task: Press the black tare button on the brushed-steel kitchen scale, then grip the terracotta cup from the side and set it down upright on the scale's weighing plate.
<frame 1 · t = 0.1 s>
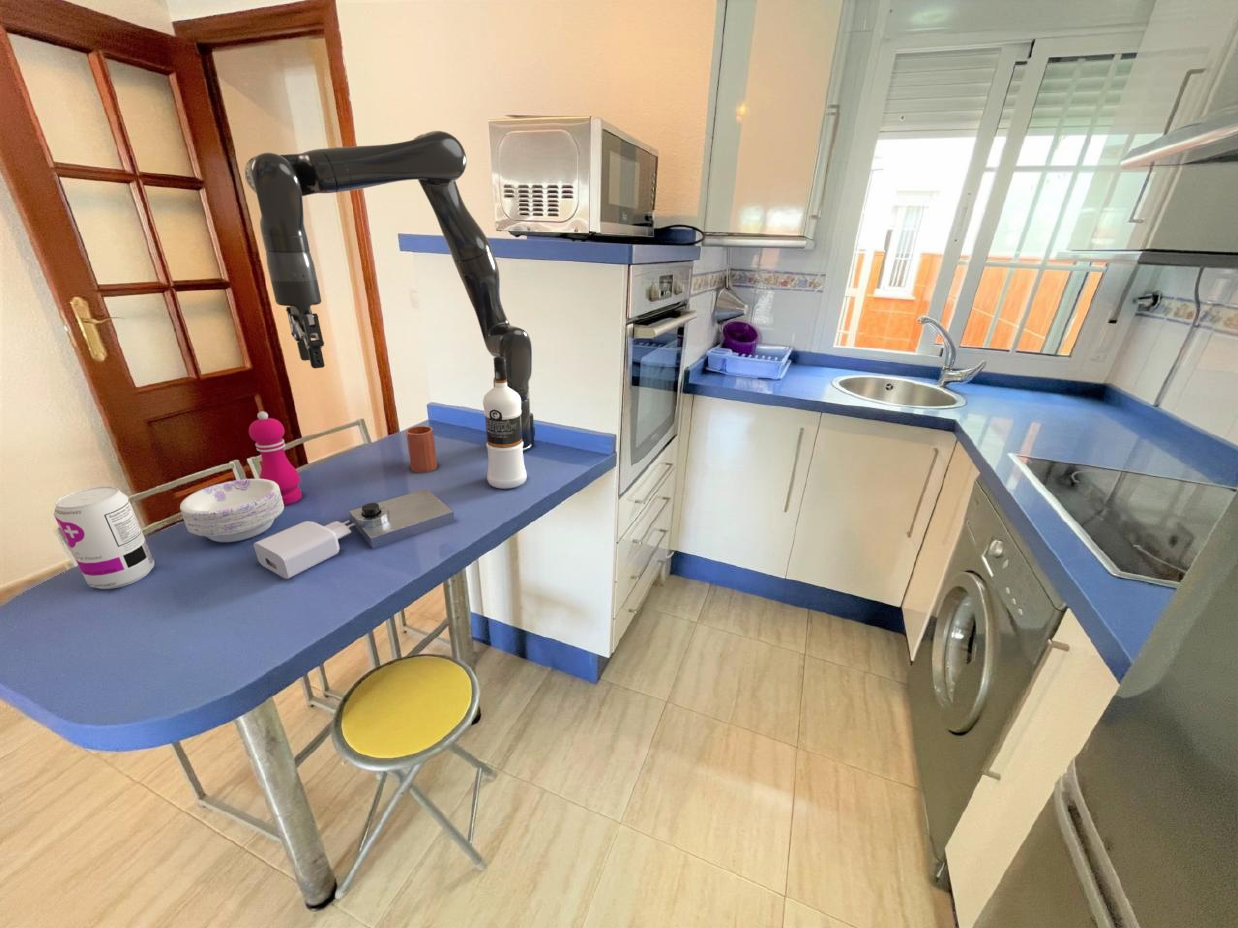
hand: (312, 363, 101), 29 cm above the table, tool pointing down, fingers open, 8 cm apart
paper bowls: (242, 530, 97), on the table
vodka: (507, 482, 120), on the table
pepper mill: (285, 500, 109), on the table
charger: (317, 552, 92), on the table
supplement can: (124, 576, 84), on the table
cup: (424, 467, 126), on the table
tare button: (371, 510, 97), point 5 cm above the table, slide at 0.1 cm
scale: (403, 521, 102), on the table
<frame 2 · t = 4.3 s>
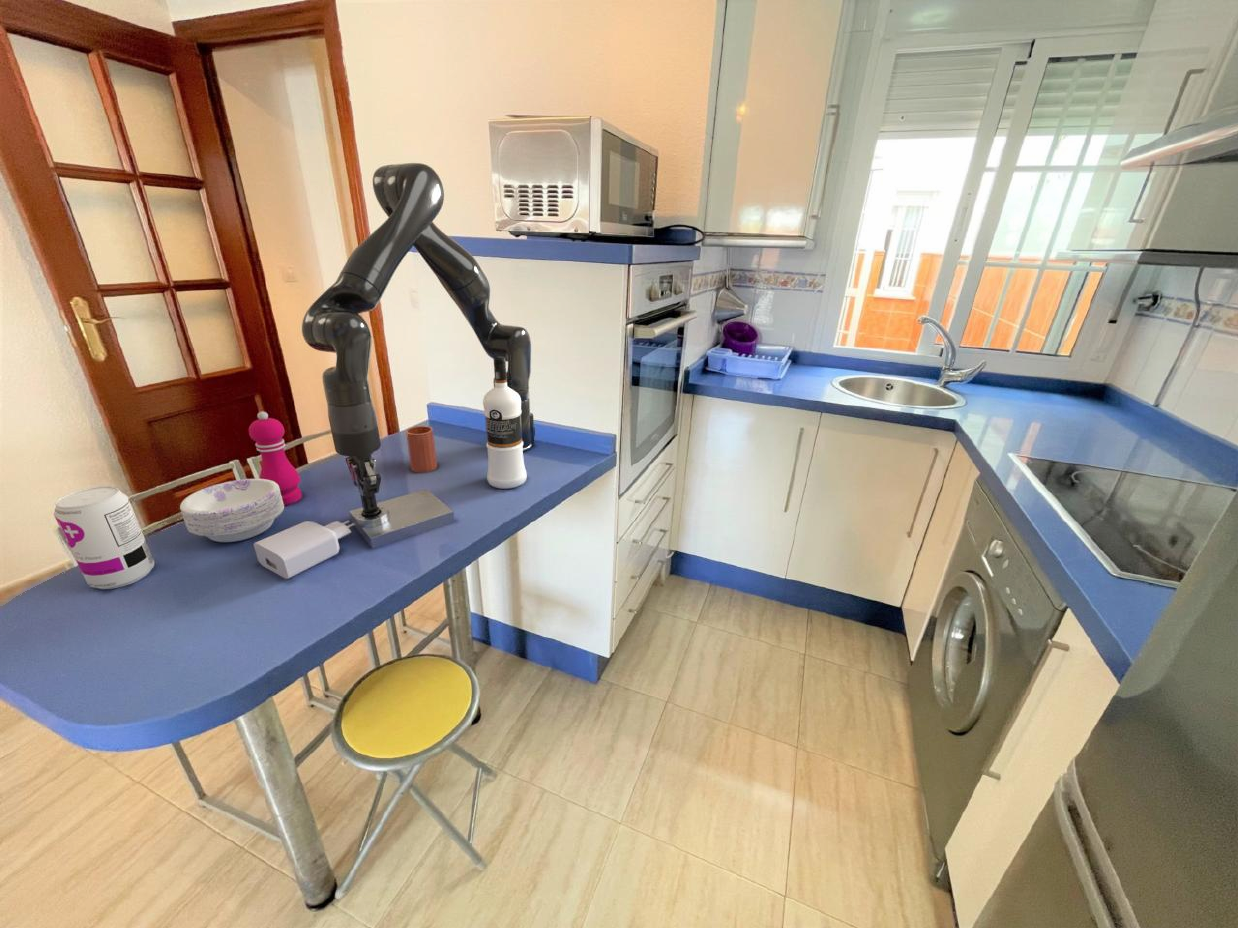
hand: (370, 509, 97), 5 cm above the table, tool pointing down, fingers closed
tare button: (371, 513, 97), point 4 cm above the table, slide at -0.6 cm, touching gripper
everything else where it was.
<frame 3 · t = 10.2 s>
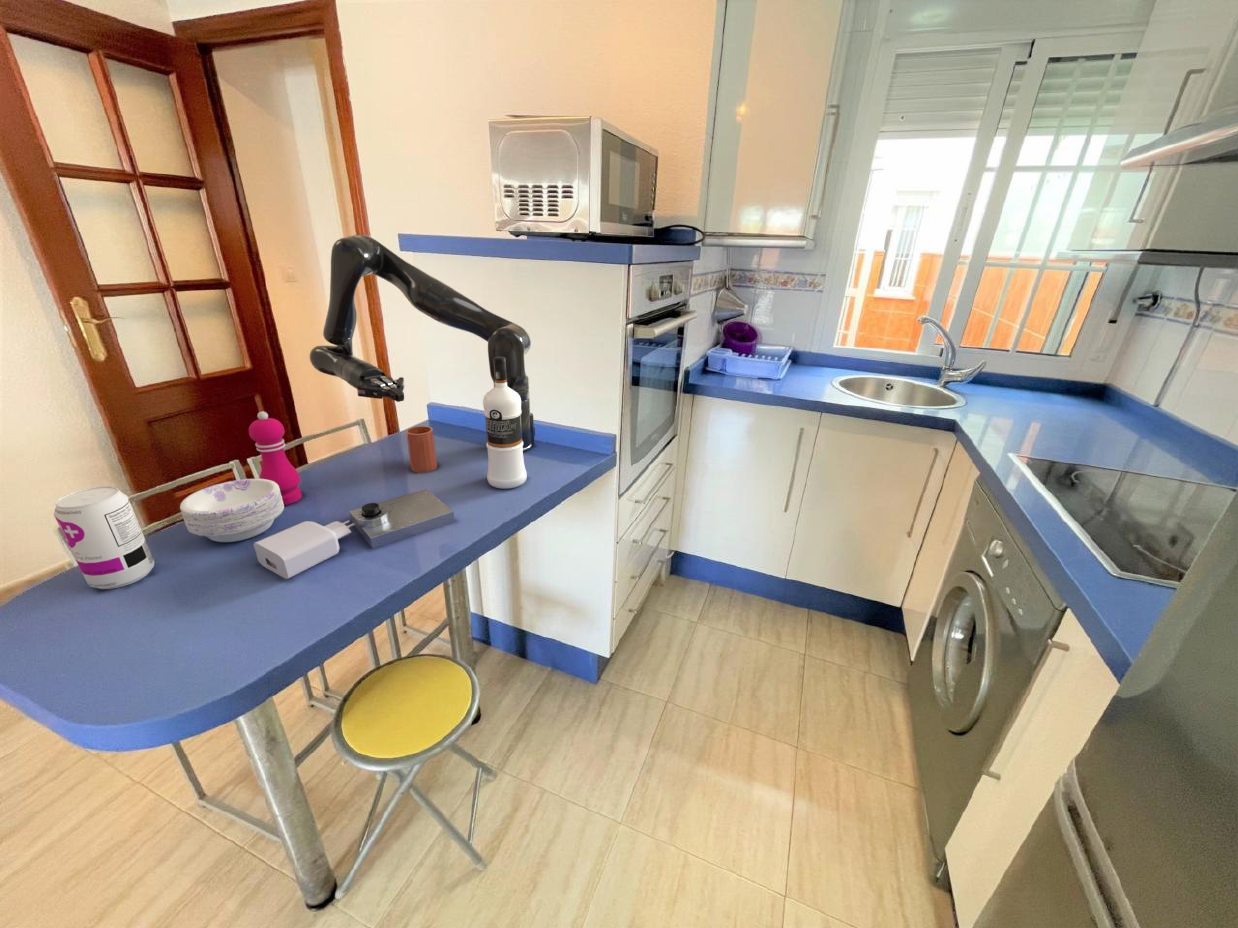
hand: (401, 397, 124), 17 cm above the table, tool horizontal, fingers closed
tare button: (371, 510, 97), point 5 cm above the table, slide at 0.1 cm
everything else where it was.
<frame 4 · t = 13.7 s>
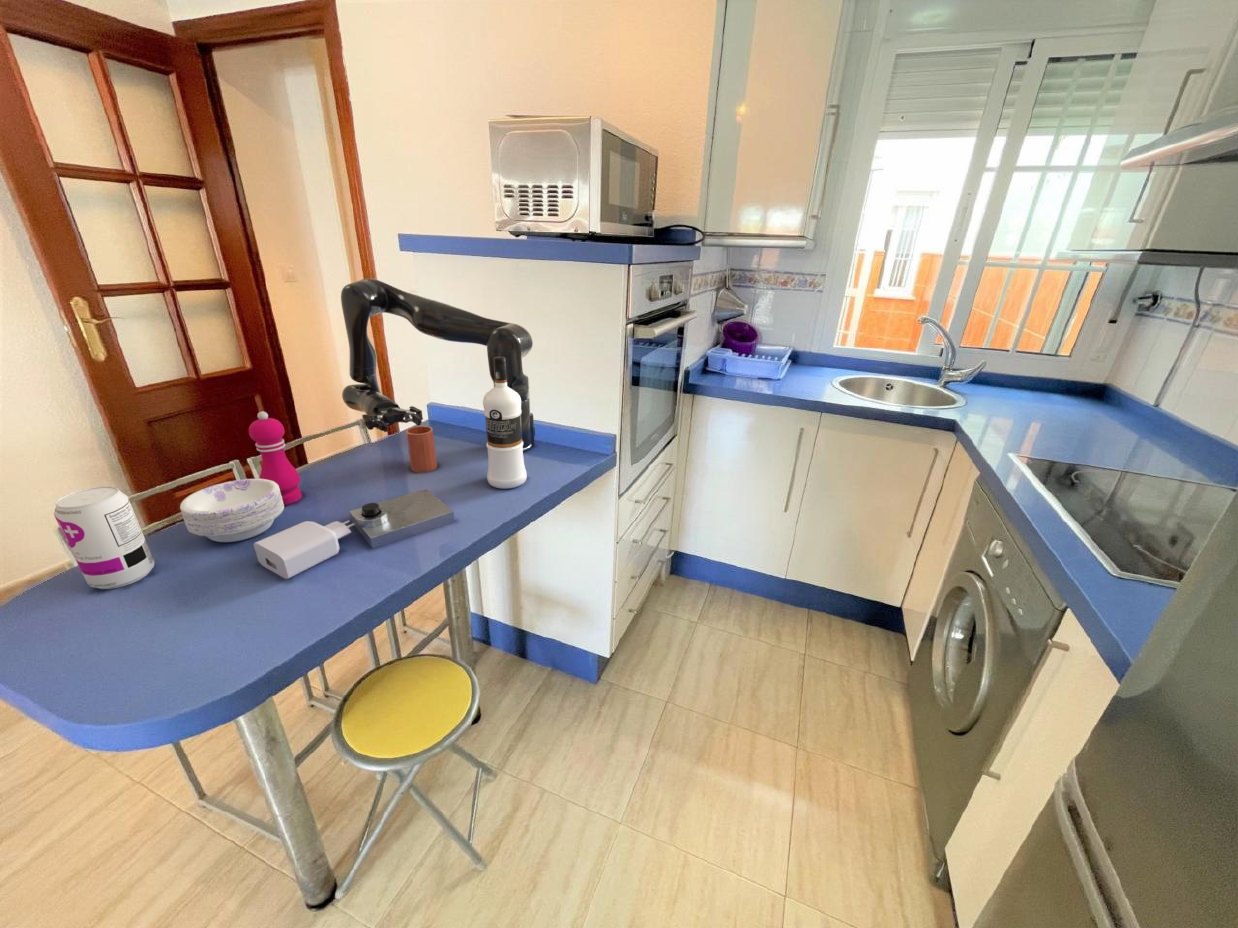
hand: (403, 424, 130), 8 cm above the table, tool horizontal, fingers open, 8 cm apart
nothing on the table moved.
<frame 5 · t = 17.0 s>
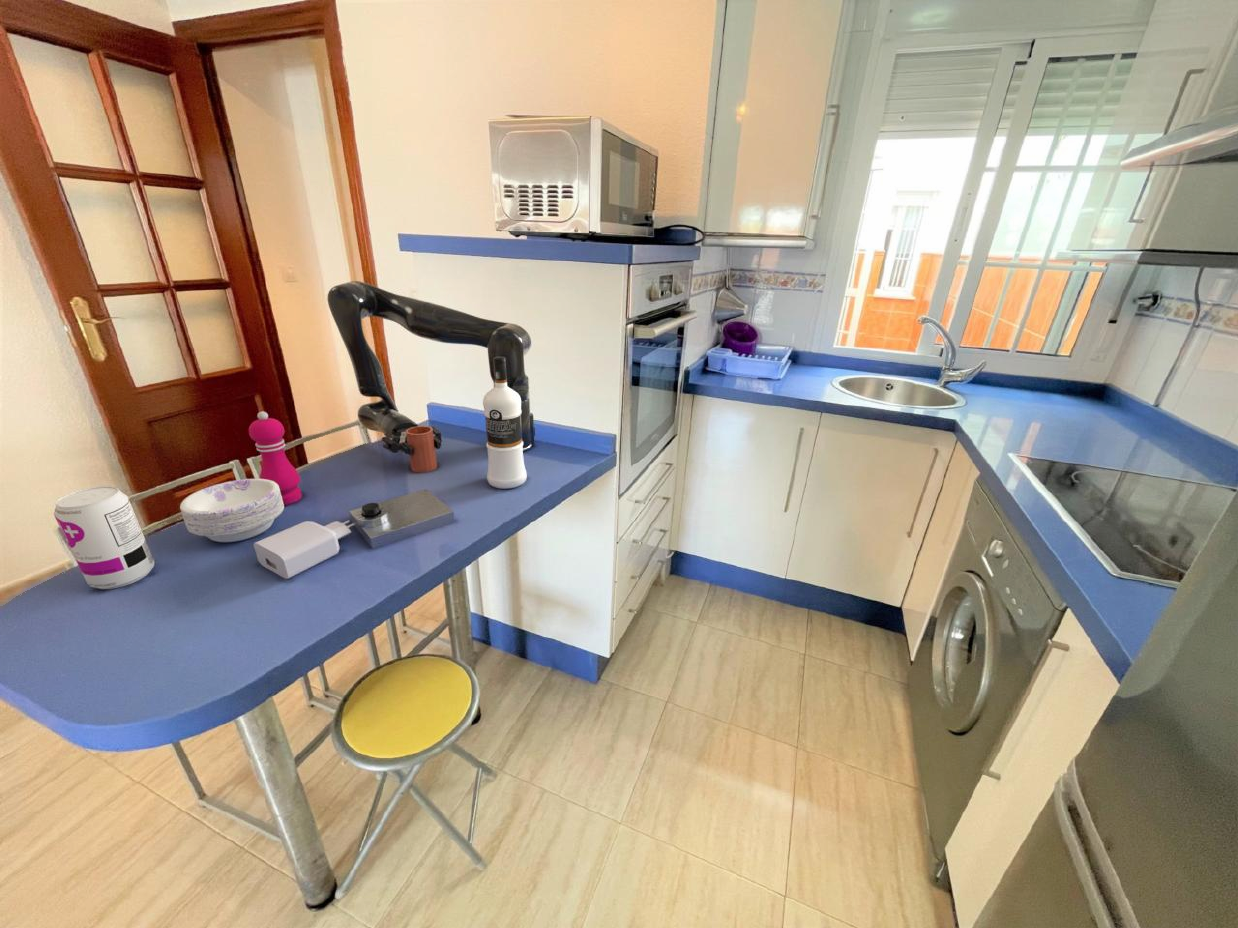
hand: (425, 448, 122), 6 cm above the table, tool horizontal, fingers closed on cup, 6 cm apart
cup: (424, 467, 126), on the table, touching gripper
everything else where it was.
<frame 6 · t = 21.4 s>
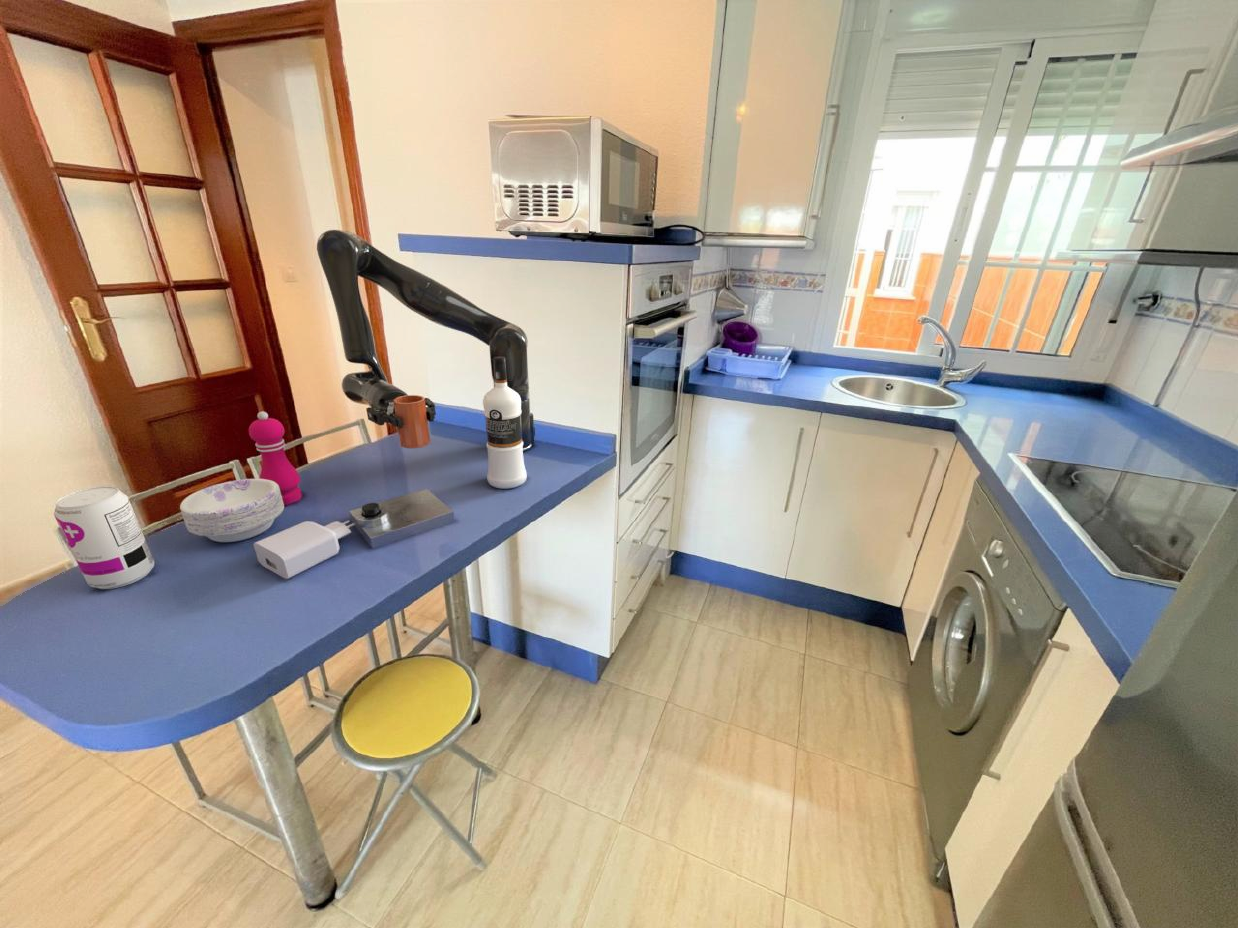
hand: (416, 420, 106), 18 cm above the table, tool horizontal, fingers closed on cup, 6 cm apart
cup: (415, 443, 110), point 12 cm above the table, touching gripper
everything else where it was.
when the fingers open (8 cm above the table, at t = 26.1 s): cup stays where it is, resting on scale.
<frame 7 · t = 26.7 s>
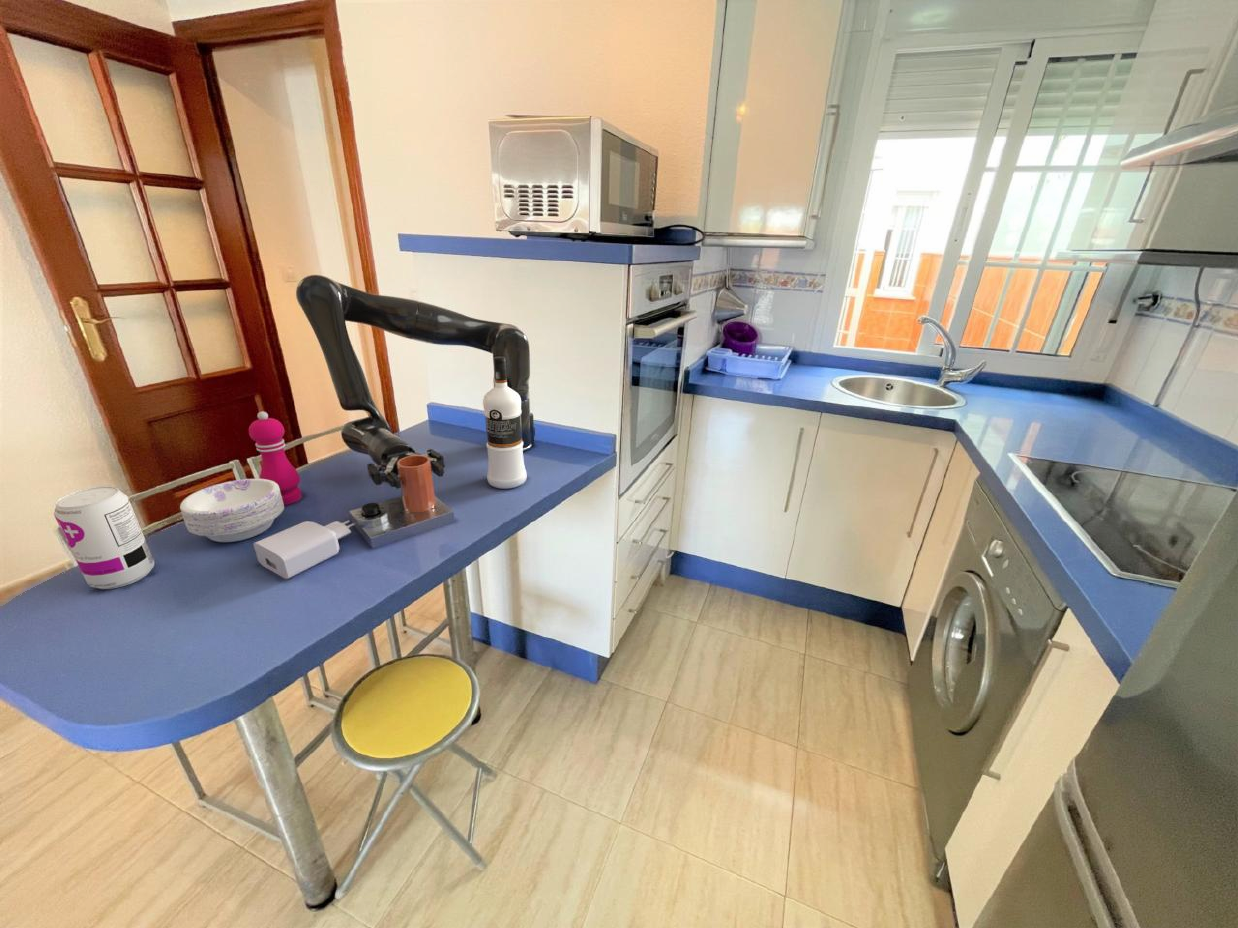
hand: (420, 477, 100), 9 cm above the table, tool horizontal, fingers open, 8 cm apart
cup: (420, 505, 104), point 2 cm above the table, touching scale
everything else where it was.
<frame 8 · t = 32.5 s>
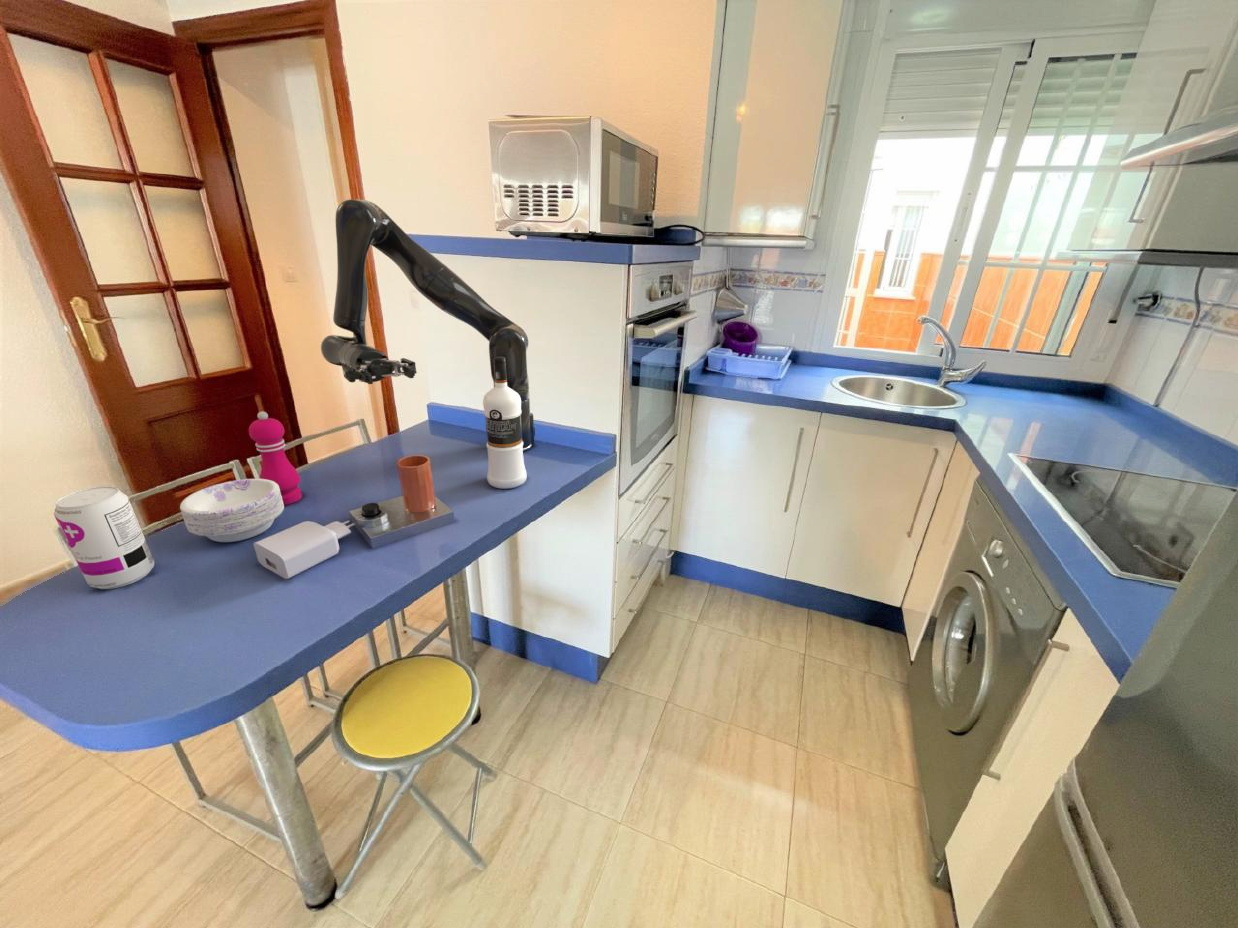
hand: (391, 376, 106), 26 cm above the table, tool horizontal, fingers open, 8 cm apart
nothing on the table moved.
at the end: tare button pushed in 0.9 cm at the most during the clip, back to where it started at the end; cup inside the target area on the scale (3.9 cm from its centre), point 2.4 cm above the scale's base; cup touching scale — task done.
